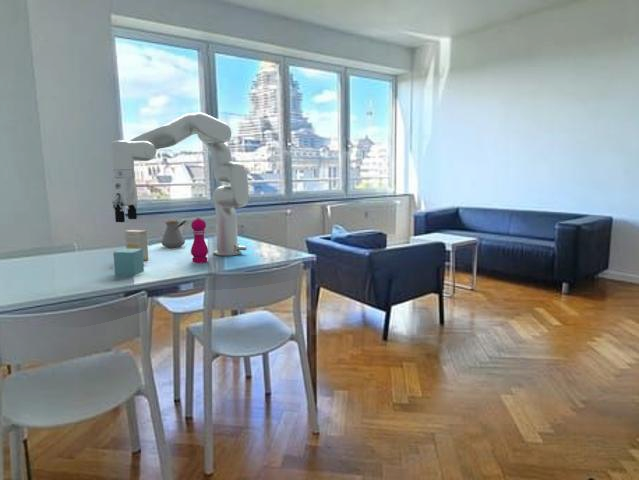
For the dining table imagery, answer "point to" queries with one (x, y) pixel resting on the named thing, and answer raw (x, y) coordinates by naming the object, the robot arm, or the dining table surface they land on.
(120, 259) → the teal square block
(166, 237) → the coffee pot
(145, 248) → the supplement box
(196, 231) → the pepper mill
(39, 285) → the dining table surface
